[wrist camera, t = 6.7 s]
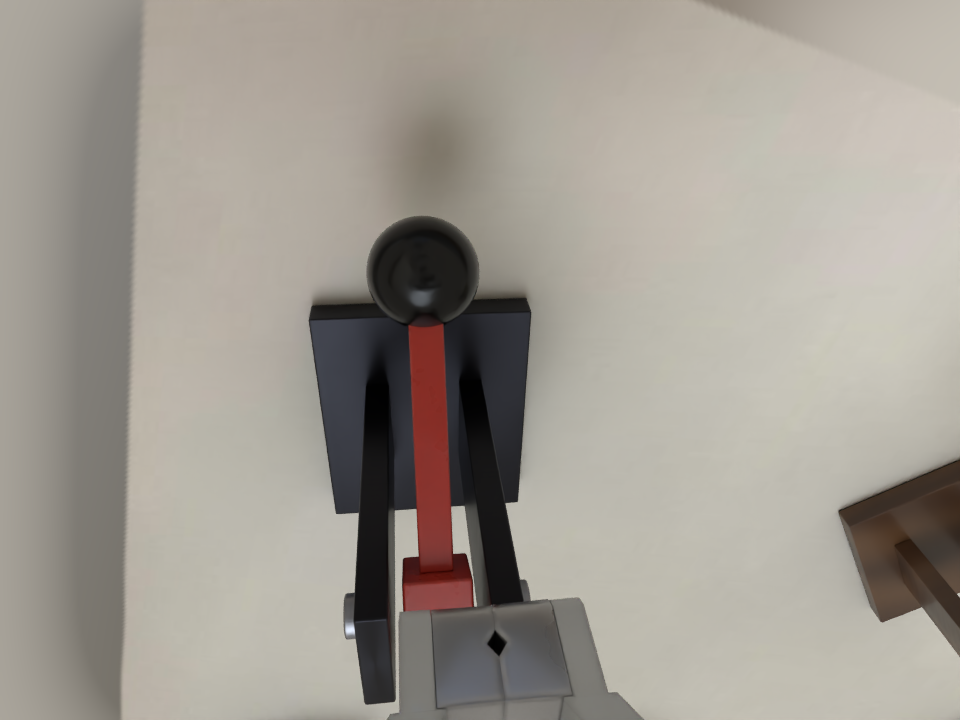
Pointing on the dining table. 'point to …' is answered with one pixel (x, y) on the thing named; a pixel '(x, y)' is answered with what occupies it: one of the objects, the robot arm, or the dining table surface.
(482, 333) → the bracket near
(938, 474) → the bracket far
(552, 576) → the dining table surface
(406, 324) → the lever
